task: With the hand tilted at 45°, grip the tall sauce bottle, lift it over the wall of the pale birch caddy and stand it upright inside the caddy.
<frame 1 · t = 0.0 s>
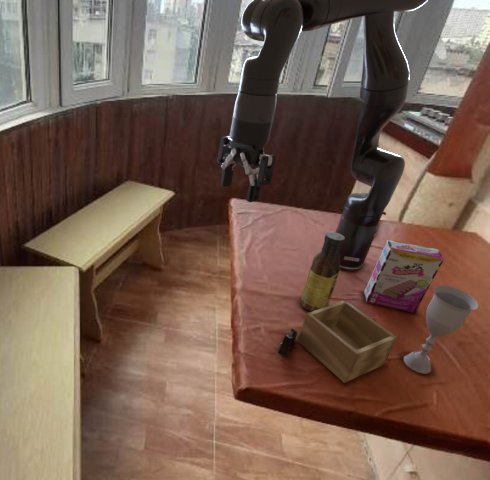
hand: (238, 193, 88), 29 cm above the table, tool pointing down, fingers open, 8 cm apart
candy bar box: (388, 303, 105), on the table
chalice: (416, 364, 88), on the table
caddy: (338, 352, 90), on the table
lighter: (284, 349, 90), on the table
sauce bottle: (312, 306, 103), on the table
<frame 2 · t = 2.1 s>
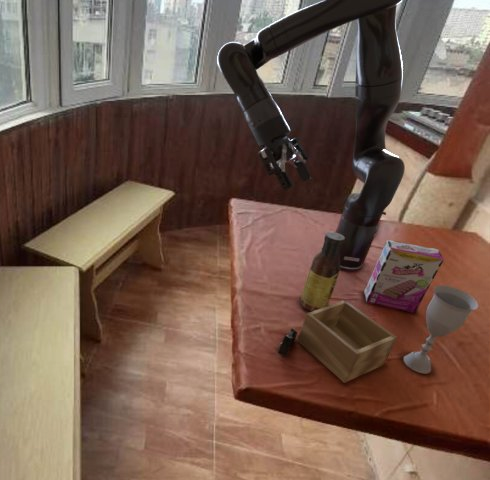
hand: (298, 184, 96), 28 cm above the table, tool tilted 45°, fingers open, 8 cm apart
nothing on the table moved.
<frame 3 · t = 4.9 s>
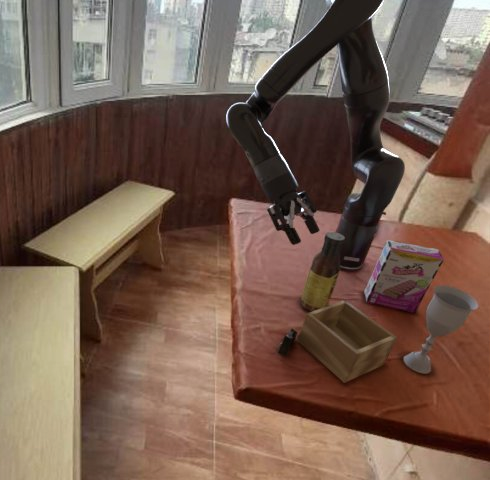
hand: (306, 238, 98), 17 cm above the table, tool tilted 45°, fingers open, 8 cm apart
nothing on the table moved.
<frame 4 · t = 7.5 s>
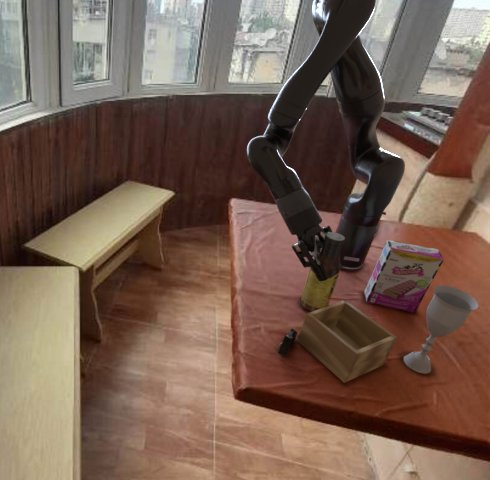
hand: (331, 274, 97), 10 cm above the table, tool tilted 45°, fingers closed on sauce bottle, 6 cm apart
sauce bottle: (312, 306, 103), on the table, touching gripper
everything else where it was.
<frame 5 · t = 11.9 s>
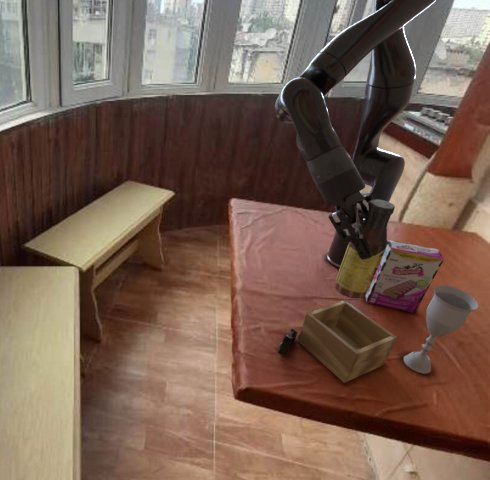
hand: (375, 251, 79), 24 cm above the table, tool tilted 45°, fingers closed on sauce bottle, 6 cm apart
sauce bottle: (348, 290, 86), point 14 cm above the table, touching gripper
everything else where it was.
when the fingers open (11 cm above the table, at t = 16.3 s): sauce bottle stays where it is, resting on caddy.
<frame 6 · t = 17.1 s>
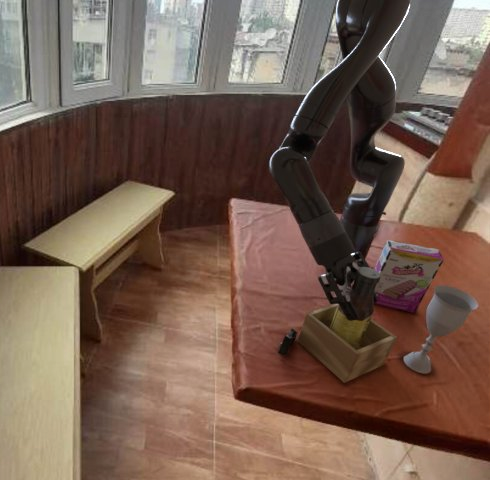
hand: (364, 310, 82), 13 cm above the table, tool tilted 45°, fingers open, 8 cm apart
sauce bottle: (338, 349, 89), point 1 cm above the table, touching caddy
everything else where it was.
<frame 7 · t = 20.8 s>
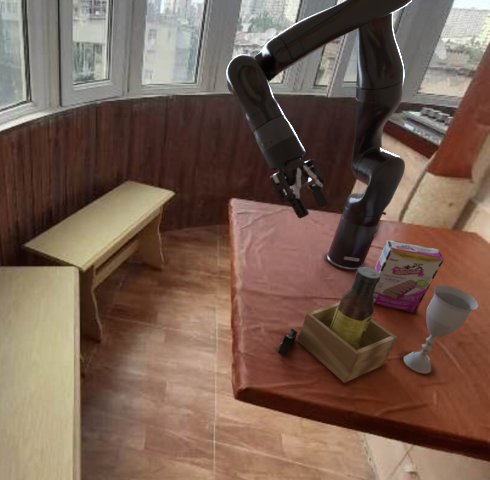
hand: (314, 211, 87), 27 cm above the table, tool tilted 45°, fingers open, 8 cm apart
nothing on the table moved.
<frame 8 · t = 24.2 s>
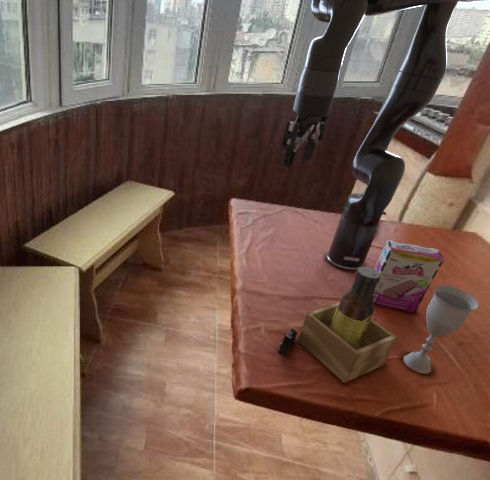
hand: (297, 162, 97), 32 cm above the table, tool pointing down, fingers open, 8 cm apart
nothing on the table moved.
at the end: sauce bottle inside the target area in the caddy (0.3 cm from its centre), point 0.8 cm above the caddy's base; sauce bottle tilted 0°; the gripper is holding nothing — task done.
